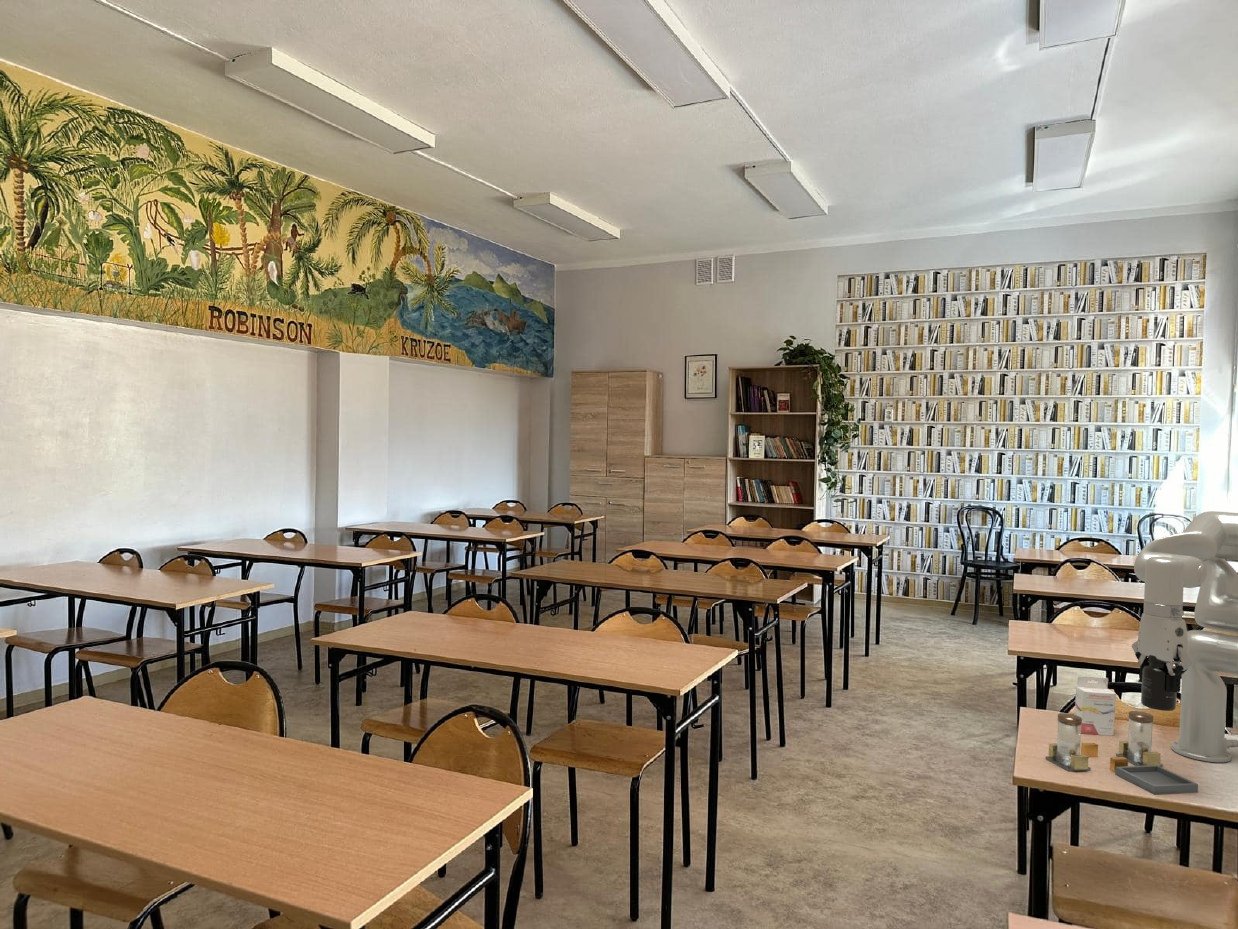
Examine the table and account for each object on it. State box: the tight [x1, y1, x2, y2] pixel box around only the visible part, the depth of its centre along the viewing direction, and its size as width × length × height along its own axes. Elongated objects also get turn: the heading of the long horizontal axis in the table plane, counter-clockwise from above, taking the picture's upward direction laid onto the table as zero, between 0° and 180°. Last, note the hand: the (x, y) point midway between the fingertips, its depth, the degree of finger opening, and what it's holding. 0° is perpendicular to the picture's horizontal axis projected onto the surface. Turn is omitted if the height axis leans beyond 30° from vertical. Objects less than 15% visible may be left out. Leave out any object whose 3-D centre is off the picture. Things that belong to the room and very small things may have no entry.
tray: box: [1114, 765, 1199, 795], centre depth 193 cm, size 11×11×2 cm
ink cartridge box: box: [1074, 675, 1117, 736], centre depth 228 cm, size 9×5×15 cm, turn 84°
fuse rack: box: [1045, 710, 1164, 773], centre depth 204 cm, size 26×11×12 cm, turn 100°
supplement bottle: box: [1140, 655, 1178, 712], centre depth 192 cm, size 7×7×12 cm
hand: (1159, 686), depth 192 cm, fingers closed on supplement bottle, 6 cm apart
